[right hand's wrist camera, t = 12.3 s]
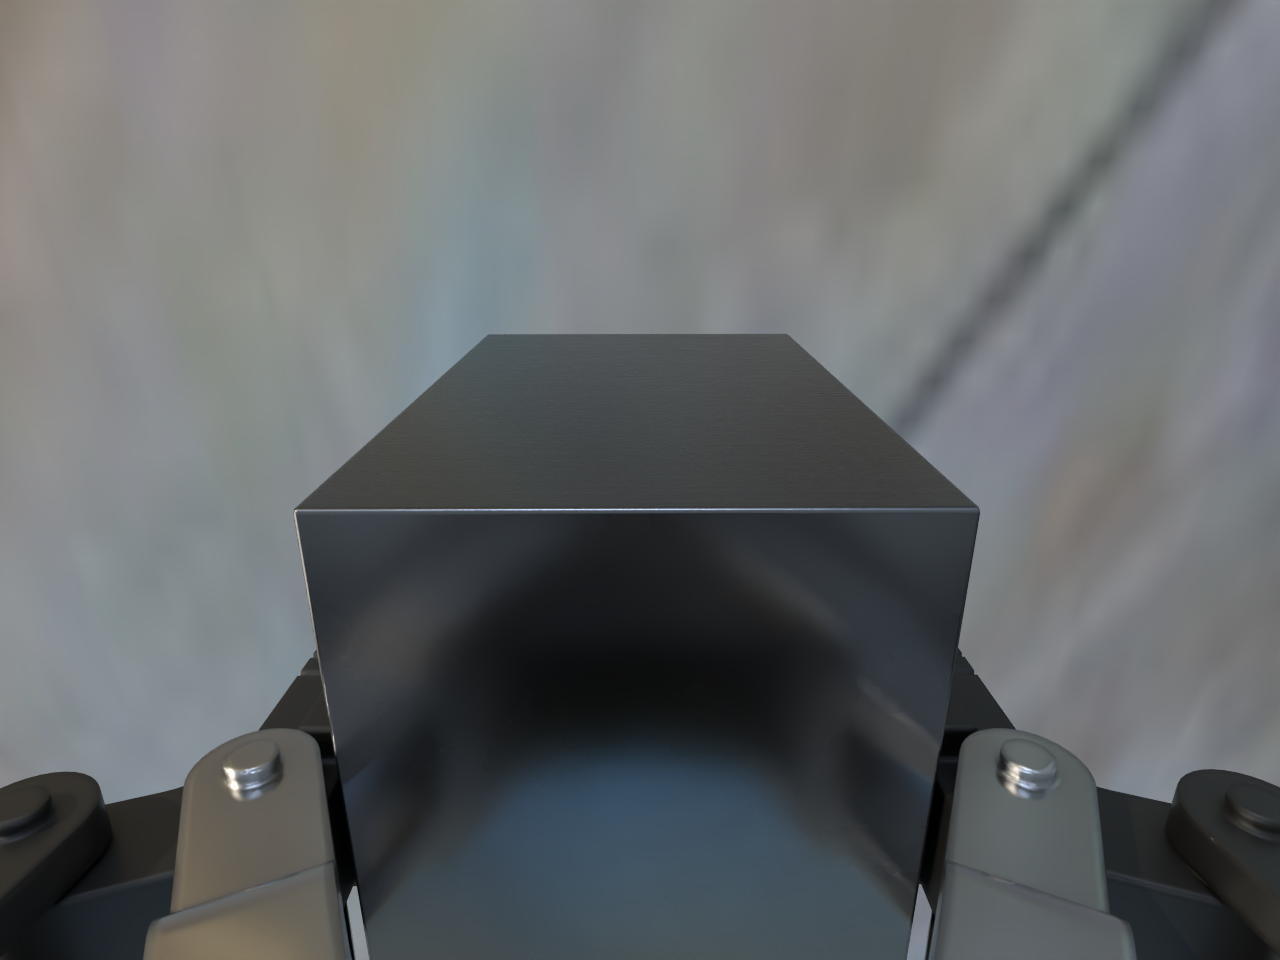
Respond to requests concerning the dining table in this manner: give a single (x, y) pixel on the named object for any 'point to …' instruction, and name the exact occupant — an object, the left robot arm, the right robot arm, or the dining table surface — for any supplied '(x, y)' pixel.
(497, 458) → the bar
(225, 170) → the dining table surface
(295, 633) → the dining table surface
